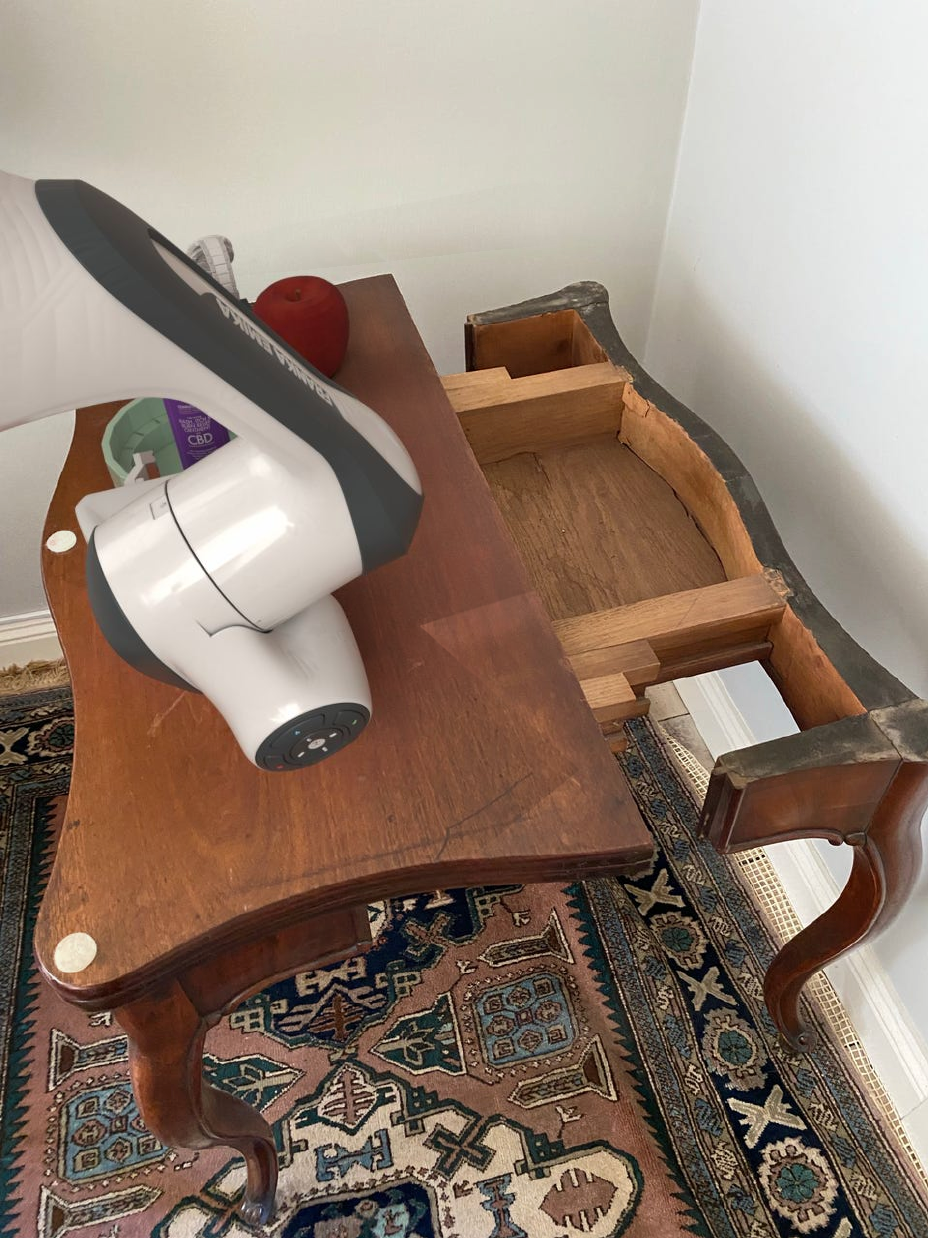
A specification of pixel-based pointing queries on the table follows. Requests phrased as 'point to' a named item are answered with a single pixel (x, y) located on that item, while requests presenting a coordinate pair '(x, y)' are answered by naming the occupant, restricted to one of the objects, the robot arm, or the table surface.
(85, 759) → the table surface
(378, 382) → the table surface
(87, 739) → the table surface
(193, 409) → the container
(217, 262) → the watch
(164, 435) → the bowl
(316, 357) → the apple
